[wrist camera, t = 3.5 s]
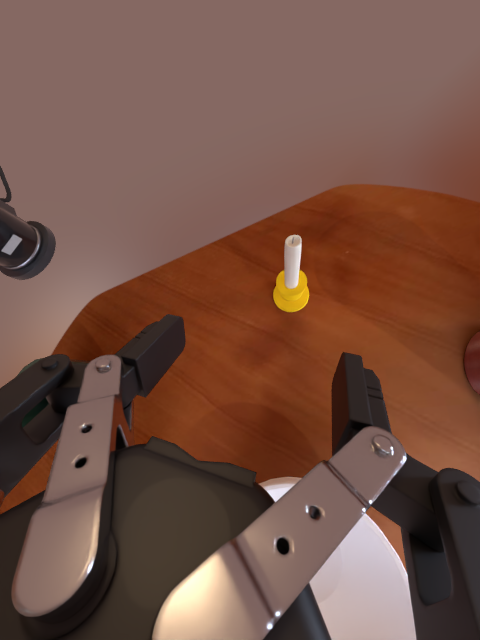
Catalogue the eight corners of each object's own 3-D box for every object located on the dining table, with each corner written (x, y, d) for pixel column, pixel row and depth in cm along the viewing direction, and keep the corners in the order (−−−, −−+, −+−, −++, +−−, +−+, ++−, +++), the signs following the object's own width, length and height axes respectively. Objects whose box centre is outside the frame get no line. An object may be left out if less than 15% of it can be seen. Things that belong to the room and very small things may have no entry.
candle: (266, 291, 37) (253, 232, 22) (295, 272, 37) (302, 201, 22) (285, 318, 35) (284, 276, 21) (316, 299, 35) (337, 242, 20)
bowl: (416, 524, 27) (460, 573, 20) (344, 709, 25) (365, 833, 18) (262, 429, 33) (256, 442, 26) (190, 574, 30) (162, 631, 23)
